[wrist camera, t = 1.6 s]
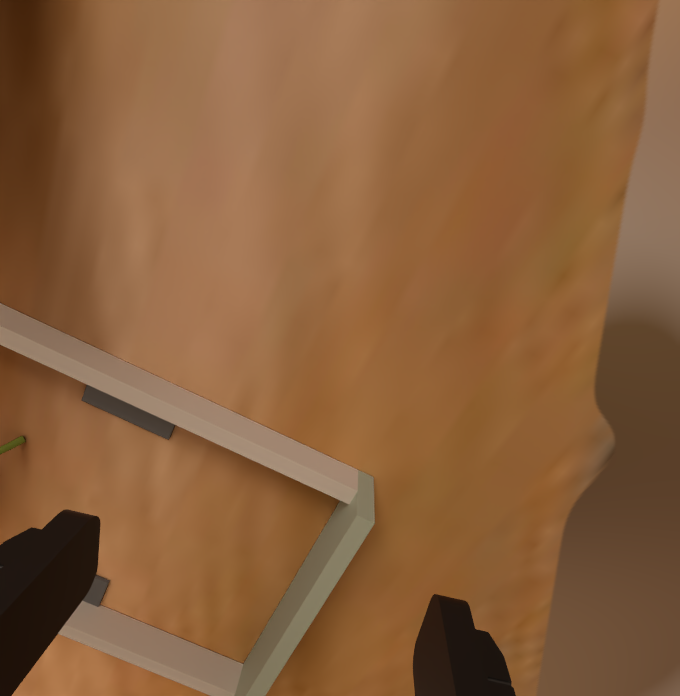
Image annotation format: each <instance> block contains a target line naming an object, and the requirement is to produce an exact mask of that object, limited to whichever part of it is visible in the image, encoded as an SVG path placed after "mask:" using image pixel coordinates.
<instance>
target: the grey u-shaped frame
mask: <svg viewBox="0 0 680 696" xmlns="http://www.w3.org/2000/svg"><path fill="white" fill-rule="evenodd" d="M0 345H2V346H4V347H6V348H9V349H11V350H13V351H15V352H17V353H19V354H22V355H24V356H26V357H28V358H30V359H33V360H35V361H37V362H39V363H41V364H43V365H46V366H48V367H50V368H52V369H54V370H57V371H59V372H61V373H63V374H65V375H67V376H70V377H72V378H74V379H76V380H78V381H81V382H83V383H85V384H87V386H86V389H85V392H84V395H83V398H82V401H84V402H86V403H89V404H91V405H93V406H95V407H97V408H100V409H102V410H104V411H106V412H108V413H111V414H113V415H115V416H117V417H119V418H122V419H124V420H126V421H128V422H130V423H133V424H135V425H137V426H139V427H141V428H144V429H146V430H148V431H150V432H152V433H155V434H157V435H159V436H161V437H163V438H166V439H169V438H170V436H171V434H172V431H173V429H174V427H175V425H177V426H179V427H181V428H183V429H185V430H188V431H190V432H192V433H194V434H196V435H198V436H201V437H203V438H205V439H207V440H209V441H212V442H214V443H216V444H218V445H220V446H222V447H225V448H227V449H229V450H231V451H233V452H236V453H238V454H240V455H242V456H244V457H246V458H249V459H251V460H253V461H255V462H257V463H260V464H262V465H264V466H266V467H268V468H270V469H273V470H275V471H277V472H279V473H281V474H284V475H286V476H288V477H290V478H292V479H294V480H297V481H299V482H301V483H303V484H305V485H308V486H310V487H312V488H314V489H316V490H318V491H321V492H323V493H325V494H327V495H329V496H332V497H334V498H336V499H338V500H340V502H339V503H338V505H337V507H336V508H335V510H334V512H333V514H332V515H331V517H330V519H329V520H328V522H327V524H326V525H325V527H324V529H323V530H322V532H321V534H320V535H319V537H318V539H317V541H316V542H315V544H314V546H313V547H312V549H311V551H310V552H309V554H308V556H307V557H306V559H305V561H304V562H303V564H302V566H301V568H300V569H299V571H298V573H297V574H296V576H295V578H294V579H293V581H292V583H291V584H290V586H289V588H288V590H287V591H286V593H285V595H284V596H283V598H282V600H281V601H280V603H279V605H278V606H277V608H276V610H275V611H274V613H273V615H272V617H271V618H270V620H269V622H268V623H267V625H266V627H265V628H264V630H263V632H262V633H261V635H260V637H259V638H258V640H257V642H256V644H255V645H254V647H253V649H252V650H251V652H250V654H249V655H248V657H247V659H246V660H245V662H244V664H242V663H239V662H237V661H234V660H232V659H230V658H227V657H225V656H222V655H220V654H218V653H215V652H213V651H210V650H208V649H206V648H203V647H201V646H198V645H196V644H193V643H191V642H189V641H186V640H184V639H181V638H179V637H177V636H174V635H172V634H169V633H167V632H165V631H162V630H160V629H157V628H155V627H153V626H150V625H148V624H145V623H143V622H140V621H138V620H136V619H133V618H131V617H128V616H126V615H124V614H121V613H119V612H116V611H114V610H112V609H109V608H107V607H104V606H102V605H100V603H101V601H102V598H103V596H104V593H105V591H106V589H107V586H108V584H109V582H110V581H109V580H107V579H105V578H102V577H100V576H97V575H96V576H95V579H94V581H93V584H92V586H91V588H90V590H89V592H88V593H87V595H86V596H85V598H84V599H83V601H82V602H81V603H80V605H79V606H78V607H77V609H76V610H75V611H74V613H73V614H72V615H71V617H70V618H69V619H68V621H67V622H66V623H65V625H64V626H63V627H62V629H61V630H60V631H59V633H58V634H60V635H62V636H65V637H67V638H70V639H72V640H75V641H77V642H80V643H82V644H84V645H87V646H89V647H92V648H94V649H97V650H99V651H102V652H104V653H107V654H109V655H112V656H114V657H117V658H119V659H121V660H124V661H126V662H129V663H131V664H134V665H136V666H139V667H141V668H144V669H146V670H149V671H151V672H153V673H156V674H158V675H161V676H163V677H166V678H168V679H171V680H173V681H176V682H178V683H181V684H183V685H186V686H188V687H190V688H193V689H195V690H198V691H200V692H203V693H205V694H208V695H210V696H265V695H266V694H267V692H268V691H269V689H270V687H271V686H272V684H273V683H274V681H275V680H276V678H277V676H278V675H279V673H280V672H281V670H282V668H283V667H284V665H285V664H286V662H287V661H288V659H289V657H290V656H291V654H292V653H293V651H294V650H295V648H296V646H297V645H298V643H299V642H300V640H301V639H302V637H303V635H304V634H305V632H306V631H307V629H308V628H309V626H310V624H311V623H312V621H313V620H314V618H315V617H316V615H317V613H318V612H319V610H320V609H321V607H322V606H323V604H324V602H325V601H326V599H327V598H328V596H329V595H330V593H331V591H332V590H333V588H334V587H335V585H336V584H337V582H338V580H339V579H340V577H341V576H342V574H343V573H344V571H345V569H346V568H347V566H348V565H349V563H350V561H351V560H352V558H353V557H354V555H355V554H356V552H357V550H358V549H359V547H360V546H361V544H362V543H363V541H364V539H365V538H366V536H367V535H368V533H369V532H370V530H371V528H372V527H373V525H374V524H375V514H374V477H372V476H370V475H368V474H366V473H363V472H361V471H359V470H357V469H355V468H353V467H351V466H348V465H346V464H344V463H342V462H340V461H338V460H336V459H333V458H331V457H329V456H327V455H325V454H323V453H321V452H318V451H316V450H314V449H312V448H310V447H308V446H306V445H303V444H301V443H299V442H297V441H295V440H293V439H291V438H288V437H286V436H284V435H282V434H280V433H278V432H276V431H273V430H271V429H269V428H267V427H265V426H263V425H261V424H258V423H256V422H254V421H252V420H250V419H248V418H246V417H243V416H241V415H239V414H237V413H235V412H233V411H231V410H228V409H226V408H224V407H222V406H220V405H218V404H216V403H213V402H211V401H209V400H207V399H205V398H203V397H200V396H198V395H196V394H194V393H192V392H190V391H188V390H185V389H183V388H181V387H179V386H177V385H175V384H173V383H170V382H168V381H166V380H164V379H162V378H160V377H158V376H155V375H153V374H151V373H149V372H147V371H145V370H143V369H140V368H138V367H136V366H134V365H132V364H130V363H128V362H125V361H123V360H121V359H119V358H117V357H115V356H113V355H110V354H108V353H106V352H104V351H102V350H100V349H98V348H95V347H93V346H91V345H89V344H87V343H85V342H83V341H80V340H78V339H76V338H74V337H72V336H70V335H68V334H65V333H63V332H61V331H59V330H57V329H55V328H53V327H50V326H48V325H46V324H44V323H42V322H40V321H38V320H35V319H33V318H31V317H29V316H27V315H25V314H23V313H20V312H18V311H16V310H14V309H12V308H10V307H8V306H5V305H3V304H1V303H0Z"/></svg>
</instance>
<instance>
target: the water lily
mask: <svg viewBox="0 0 680 696" xmlns="http://www.w3.org/2000/svg"><path fill="white" fill-rule="evenodd" d="M24 442H26V441H25V439H24V438H23V436H20V437H19V438H17V439H15V440H13V441H11V442H9V443H7V444H5V445H3V446H1V447H0V454H2V453H4V452H6V451H9V450H11V449H13V448H15V447H17V446H19V445H21V444H23V443H24Z"/></svg>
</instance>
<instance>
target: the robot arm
mask: <svg viewBox="0 0 680 696" xmlns="http://www.w3.org/2000/svg"><path fill="white" fill-rule="evenodd" d="M99 536H100V519H99V517H97V516H93V515H89V514H85V513H80V512H76V511H71V510H63V511H61V512H60V513H59V514H58V515H57V516H55V517H54V518H53V519H52V520H51V521H50V522H49V523H48V524H47V525H46V526H45V527H44V528H43V529H42V530H41V529H36V528H30V529H28V530H26V531H24V532H22V533H20V534H18V535H16V536H14V537H12V538H11V539H9V540H7V541H5V542H4V543H3V544H1V545H0V696H11V695H12V694H13V693H14V691H15V690H16V689H17V687H18V686H19V685H20V683H21V682H22V681H23V679H24V678H25V677H26V675H27V674H28V673H29V671H30V670H31V669H32V667H33V666H34V665H35V663H36V662H37V661H38V659H39V658H40V657H41V655H42V654H43V653H44V651H45V650H46V649H47V647H48V646H49V645H50V643H51V642H52V641H53V639H54V638H55V637H56V635H57V634H58V633H59V631H60V630H61V629H62V627H63V626H64V625H65V623H66V622H67V621H68V619H69V618H70V617H71V615H72V614H73V613H74V611H75V610H76V609H77V607H78V606H79V605H80V603H81V602H82V601H83V599H84V598H85V596H86V595H87V593H88V592H89V590H90V588H91V586H92V584H93V581H94V579H95V576H96V572H97V567H98V552H99ZM413 677H414V688H415V696H516V695H515V692H514V688H513V687H512V686H511V679H510V675H509V672H508V669H507V665H506V662H505V659H504V656H503V654H502V653H501V651H500V650H499V648H498V647H497V645H496V644H495V642H494V640H493V639H492V637H491V636H490V634H489V633H488V632H485V631H481V630H476V629H475V627H474V623H473V619H472V615H471V611H470V607H469V605H468V603H467V602H466V601H463V600H459V599H455V598H450V597H446V596H441V595H437V594H434V595H433V596H432V598H431V600H430V603H429V606H428V609H427V612H426V614H425V617H424V620H423V623H422V626H421V629H420V631H419V634H418V637H417V640H416V644H415V649H414V656H413Z"/></svg>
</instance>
